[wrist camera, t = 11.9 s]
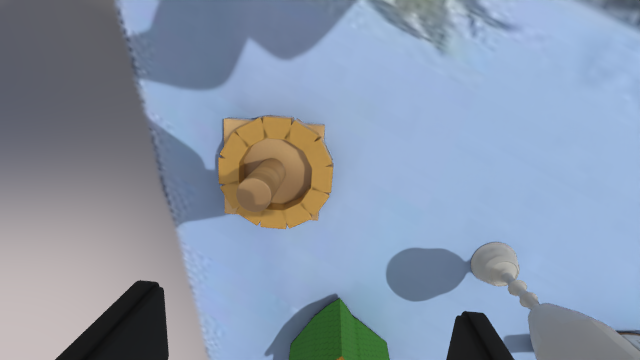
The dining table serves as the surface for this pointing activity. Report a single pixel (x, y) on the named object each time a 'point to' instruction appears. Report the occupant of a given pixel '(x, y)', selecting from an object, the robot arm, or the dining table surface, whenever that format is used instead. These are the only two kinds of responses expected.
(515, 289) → the chalice
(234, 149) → the ring
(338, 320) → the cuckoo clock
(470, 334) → the robot arm
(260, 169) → the stand
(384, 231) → the dining table surface
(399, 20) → the dining table surface
